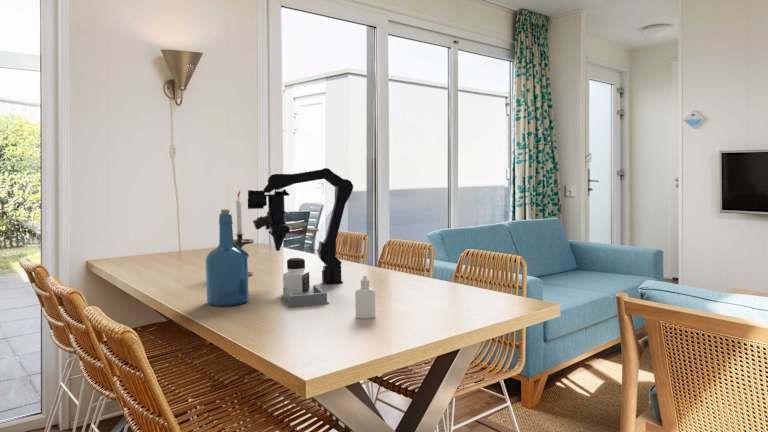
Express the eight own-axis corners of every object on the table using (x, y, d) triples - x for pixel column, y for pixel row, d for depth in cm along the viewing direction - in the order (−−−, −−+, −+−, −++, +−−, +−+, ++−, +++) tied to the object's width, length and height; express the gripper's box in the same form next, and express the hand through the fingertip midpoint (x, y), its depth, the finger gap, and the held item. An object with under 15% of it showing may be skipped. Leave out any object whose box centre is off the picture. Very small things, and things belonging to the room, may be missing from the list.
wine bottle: (211, 309, 170) (207, 211, 168) (203, 300, 182) (200, 209, 180) (255, 303, 176) (252, 209, 174) (245, 296, 188) (242, 207, 186)
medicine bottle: (303, 295, 188) (302, 260, 187) (283, 294, 190) (282, 259, 189) (309, 290, 195) (309, 257, 194) (290, 290, 196) (289, 256, 196)
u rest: (281, 298, 184) (281, 287, 184) (318, 294, 188) (318, 284, 188) (288, 307, 171) (288, 296, 170) (328, 303, 175) (328, 293, 175)
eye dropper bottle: (361, 314, 161) (360, 273, 160) (377, 316, 158) (377, 274, 157) (353, 318, 157) (352, 276, 156) (370, 320, 154) (369, 277, 154)
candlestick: (260, 274, 228) (257, 189, 226) (240, 279, 219) (237, 190, 217) (241, 272, 234) (238, 189, 232) (221, 276, 225) (218, 190, 223)
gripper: (251, 207, 209) (252, 248, 210) (257, 210, 191) (258, 255, 193) (280, 206, 213) (282, 247, 214) (289, 209, 195) (290, 253, 196)
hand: (277, 250), depth 204 cm, fingers closed
